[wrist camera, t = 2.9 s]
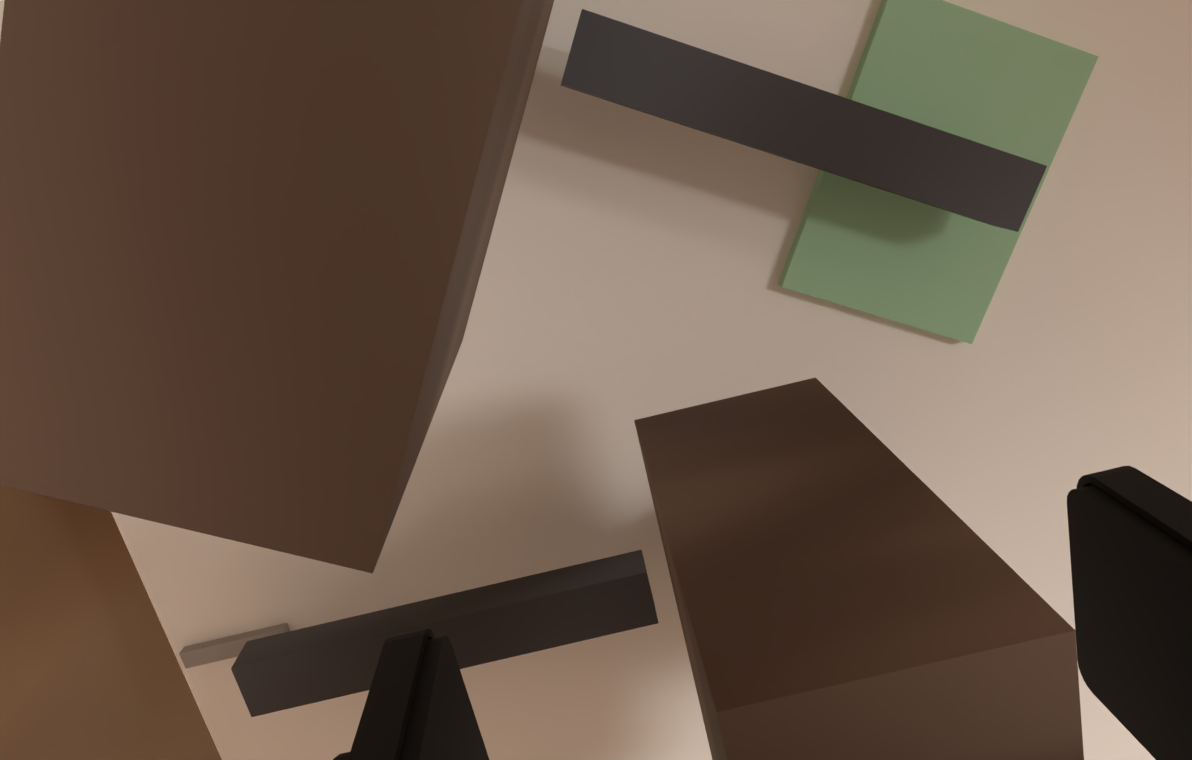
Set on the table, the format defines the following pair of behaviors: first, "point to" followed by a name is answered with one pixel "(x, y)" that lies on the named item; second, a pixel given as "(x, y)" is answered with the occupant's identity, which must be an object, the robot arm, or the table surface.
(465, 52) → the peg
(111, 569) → the table surface
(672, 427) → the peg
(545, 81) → the board
